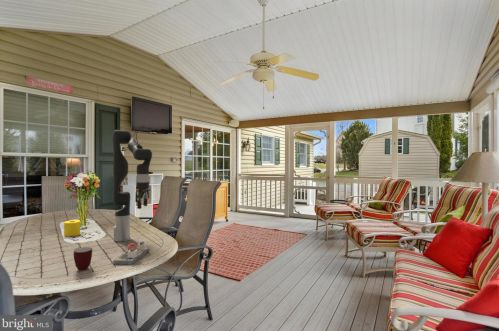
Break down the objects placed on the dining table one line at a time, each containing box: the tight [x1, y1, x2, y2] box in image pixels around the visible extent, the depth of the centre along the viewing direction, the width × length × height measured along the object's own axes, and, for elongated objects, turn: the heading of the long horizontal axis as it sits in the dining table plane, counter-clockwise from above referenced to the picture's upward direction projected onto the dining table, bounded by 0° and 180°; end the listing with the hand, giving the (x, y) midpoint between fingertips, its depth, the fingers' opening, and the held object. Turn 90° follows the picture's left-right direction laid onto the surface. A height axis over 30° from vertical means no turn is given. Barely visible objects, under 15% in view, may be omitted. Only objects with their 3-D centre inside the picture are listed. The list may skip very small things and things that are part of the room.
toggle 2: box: [136, 240, 147, 251], centre depth 163 cm, size 4×3×4 cm
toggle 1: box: [128, 248, 138, 258], centre depth 151 cm, size 4×3×4 cm
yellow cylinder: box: [63, 219, 81, 237], centre depth 202 cm, size 10×10×9 cm
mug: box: [73, 246, 93, 272], centre depth 140 cm, size 10×8×10 cm
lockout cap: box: [127, 242, 137, 251], centre depth 157 cm, size 4×4×6 cm
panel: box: [113, 246, 149, 266], centre depth 157 cm, size 10×22×3 cm, turn 178°
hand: (142, 207), depth 170 cm, fingers open, 8 cm apart
